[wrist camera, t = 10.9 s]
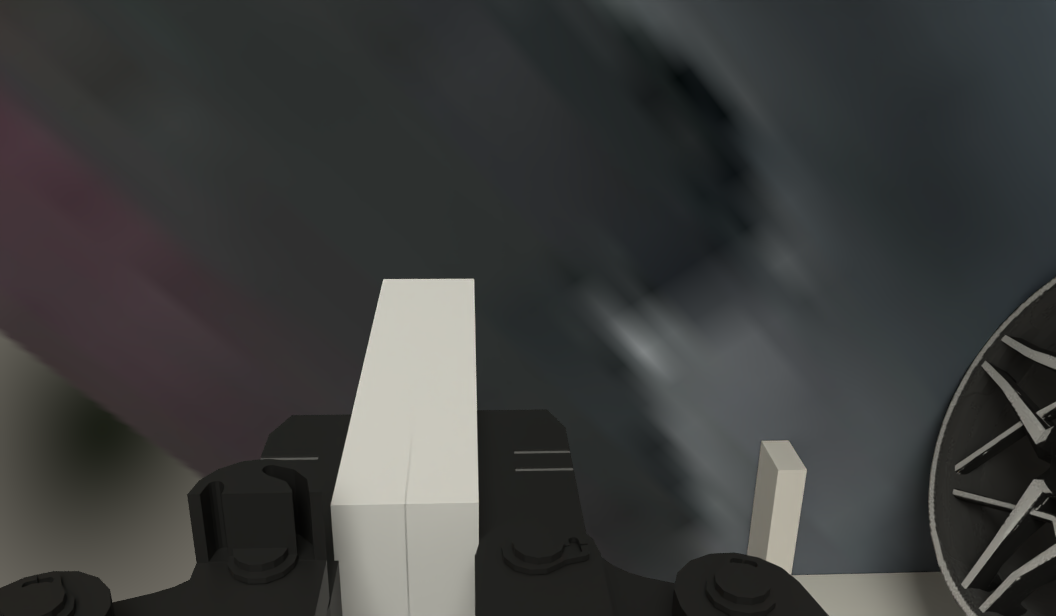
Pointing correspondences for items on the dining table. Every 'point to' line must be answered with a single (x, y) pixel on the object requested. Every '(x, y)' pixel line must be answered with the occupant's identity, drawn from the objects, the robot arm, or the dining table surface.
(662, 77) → the dining table surface
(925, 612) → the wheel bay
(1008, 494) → the wheel rim
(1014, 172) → the dining table surface
